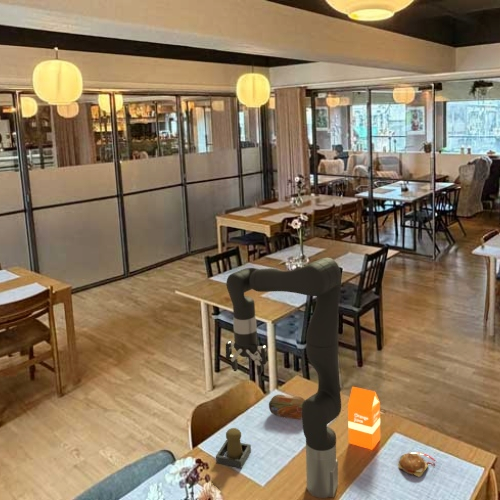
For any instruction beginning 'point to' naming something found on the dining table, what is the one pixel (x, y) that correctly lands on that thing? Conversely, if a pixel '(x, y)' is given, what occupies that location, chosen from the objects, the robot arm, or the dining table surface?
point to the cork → (234, 443)
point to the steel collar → (231, 461)
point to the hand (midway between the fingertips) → (247, 372)
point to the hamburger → (414, 463)
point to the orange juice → (364, 418)
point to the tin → (286, 406)
